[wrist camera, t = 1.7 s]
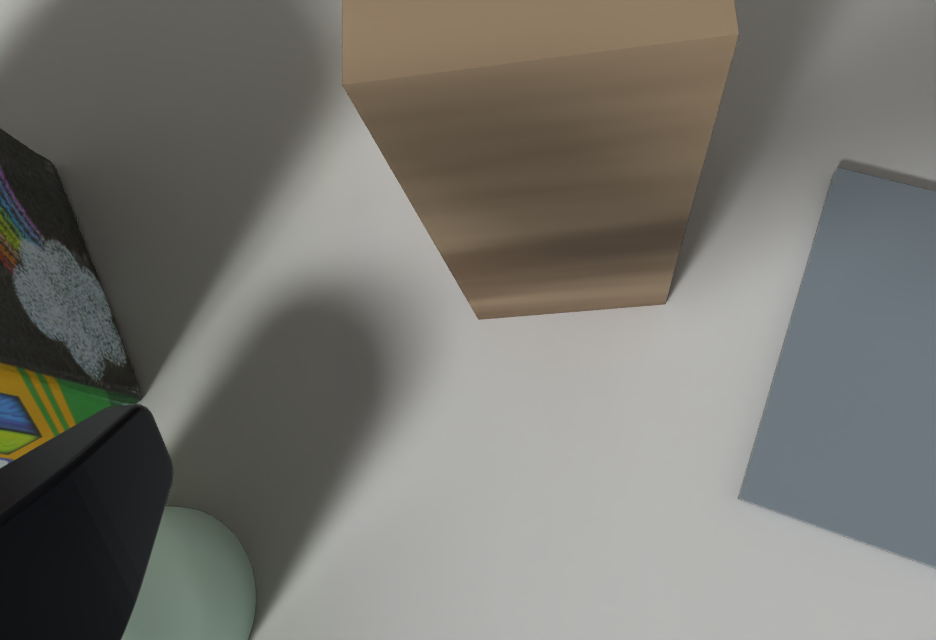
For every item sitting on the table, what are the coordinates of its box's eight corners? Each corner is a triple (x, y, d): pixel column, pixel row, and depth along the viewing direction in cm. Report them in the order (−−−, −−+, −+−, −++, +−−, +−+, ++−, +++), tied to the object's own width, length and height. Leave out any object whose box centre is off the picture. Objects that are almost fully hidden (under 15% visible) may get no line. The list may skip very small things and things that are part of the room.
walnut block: (665, 304, 21) (739, 34, 10) (478, 319, 22) (342, 85, 10) (646, 133, 22) (692, -282, 11) (470, 153, 23) (342, -217, 12)
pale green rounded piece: (177, 748, 20) (-32, 855, 14) (45, 626, 22) (-204, 669, 15) (293, 579, 21) (147, 600, 14) (157, 470, 22) (-33, 444, 16)
